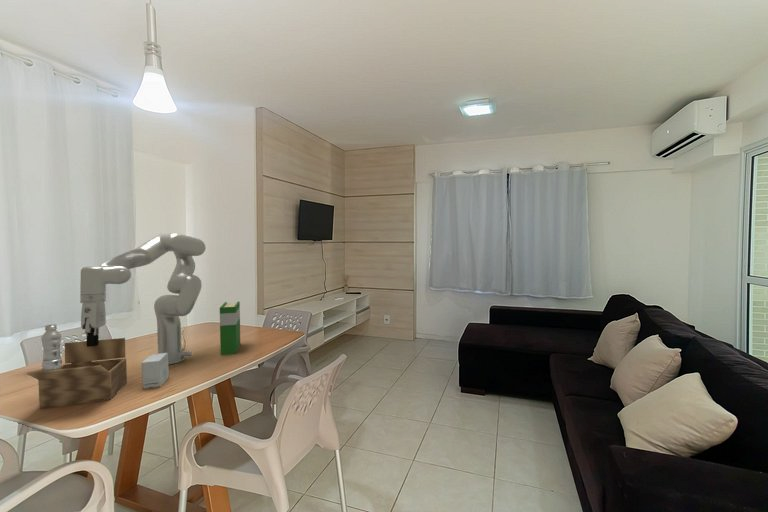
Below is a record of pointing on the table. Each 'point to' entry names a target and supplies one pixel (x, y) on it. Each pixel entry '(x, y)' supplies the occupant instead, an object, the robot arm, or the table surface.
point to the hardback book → (230, 328)
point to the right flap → (94, 350)
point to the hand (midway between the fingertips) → (92, 345)
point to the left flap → (68, 372)
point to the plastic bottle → (51, 348)
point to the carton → (83, 385)
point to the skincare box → (155, 370)
